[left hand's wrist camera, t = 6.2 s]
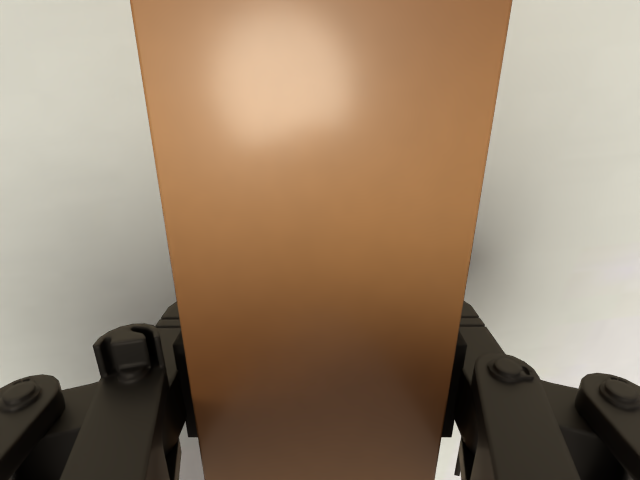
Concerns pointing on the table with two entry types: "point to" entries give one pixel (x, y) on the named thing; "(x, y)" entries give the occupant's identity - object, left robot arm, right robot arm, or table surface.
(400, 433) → the bar
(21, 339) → the table surface
